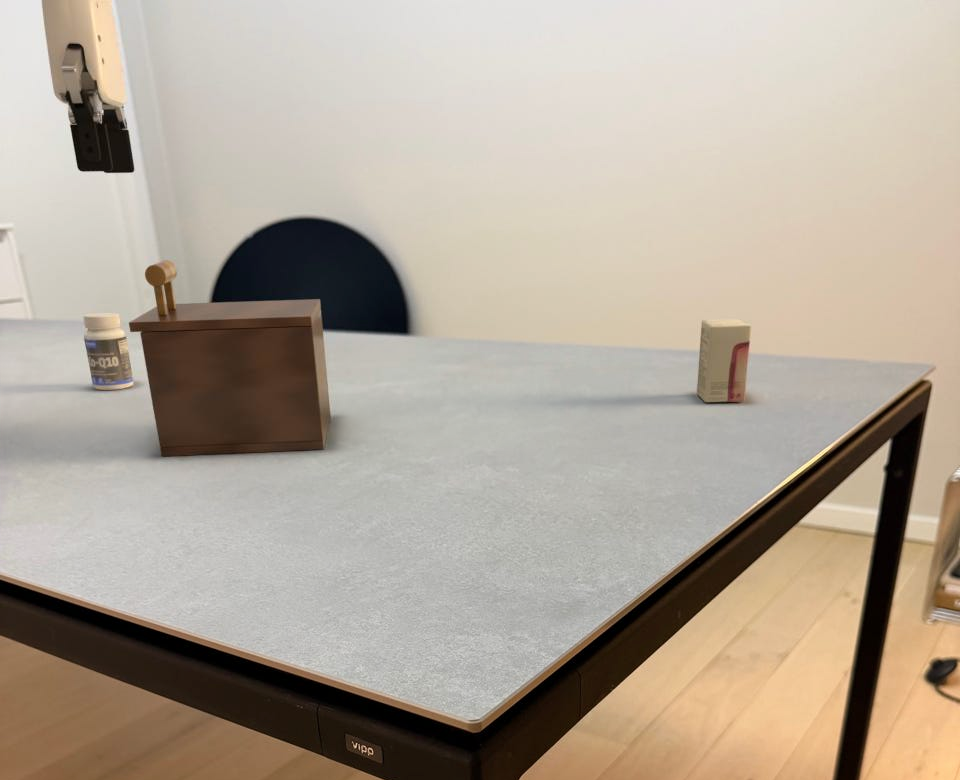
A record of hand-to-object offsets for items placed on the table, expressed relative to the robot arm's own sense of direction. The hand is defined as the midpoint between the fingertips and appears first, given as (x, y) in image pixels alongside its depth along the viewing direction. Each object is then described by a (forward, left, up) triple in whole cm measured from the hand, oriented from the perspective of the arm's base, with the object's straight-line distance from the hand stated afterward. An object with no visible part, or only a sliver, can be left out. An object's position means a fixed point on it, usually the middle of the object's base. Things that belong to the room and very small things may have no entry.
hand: (108, 172), depth 96 cm
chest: (+14, -17, -23) cm, 32 cm away
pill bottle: (-6, +11, -24) cm, 27 cm away
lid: (+13, -17, -12) cm, 25 cm away
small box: (+63, -9, -24) cm, 67 cm away
